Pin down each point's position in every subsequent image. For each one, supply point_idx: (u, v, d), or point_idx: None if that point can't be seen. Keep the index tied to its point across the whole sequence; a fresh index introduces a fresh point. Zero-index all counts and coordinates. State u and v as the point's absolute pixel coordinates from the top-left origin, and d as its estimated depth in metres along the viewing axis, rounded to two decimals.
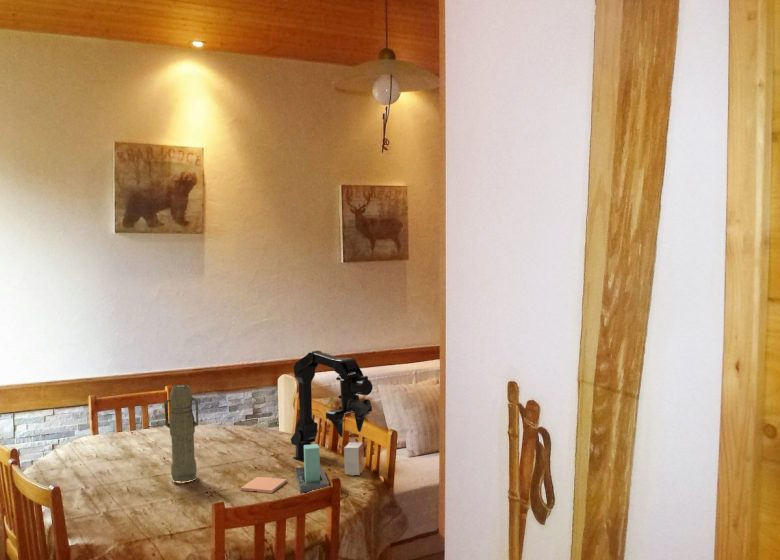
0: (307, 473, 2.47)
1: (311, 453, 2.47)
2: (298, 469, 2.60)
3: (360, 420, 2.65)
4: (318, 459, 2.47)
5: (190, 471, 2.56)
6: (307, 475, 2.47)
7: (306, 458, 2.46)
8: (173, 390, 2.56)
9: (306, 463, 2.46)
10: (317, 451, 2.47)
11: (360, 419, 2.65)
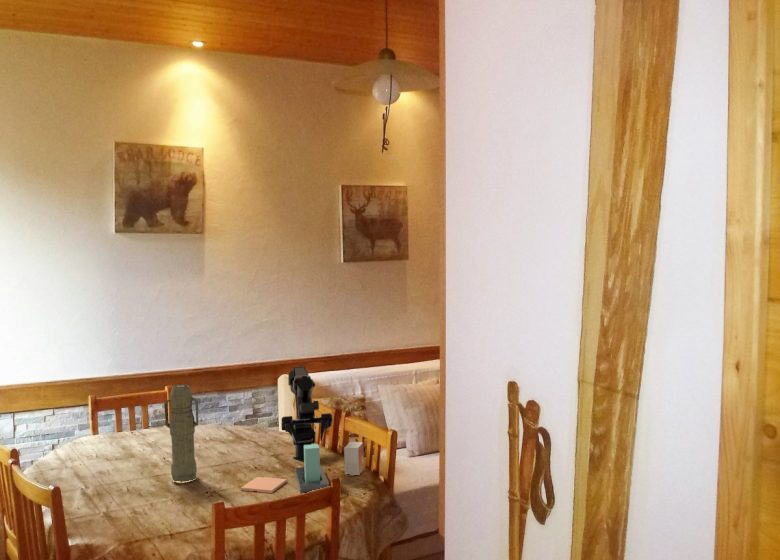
0: (307, 473, 2.47)
1: (311, 453, 2.47)
2: (298, 469, 2.60)
3: (320, 429, 2.61)
4: (318, 459, 2.47)
5: (190, 471, 2.56)
6: (307, 475, 2.47)
7: (306, 458, 2.46)
8: (173, 390, 2.56)
9: (306, 463, 2.46)
10: (317, 451, 2.47)
11: (320, 428, 2.61)
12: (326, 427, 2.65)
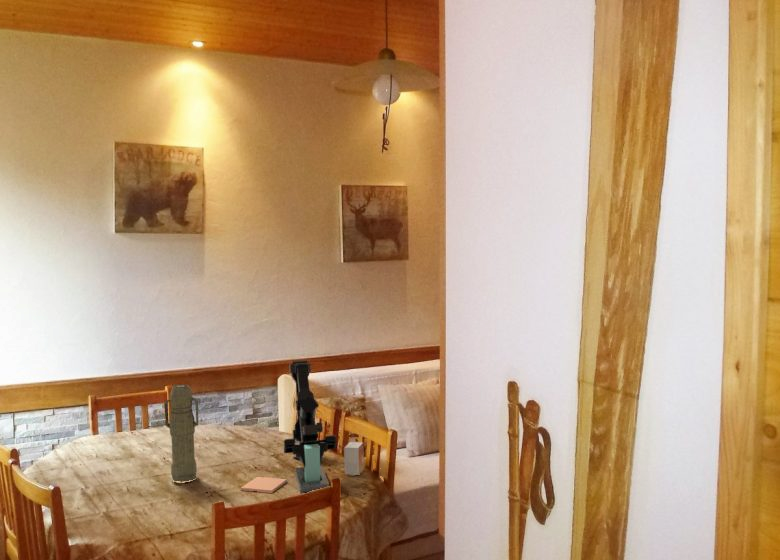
0: (307, 473, 2.47)
1: (312, 453, 2.47)
2: (298, 469, 2.60)
3: None
4: (318, 459, 2.47)
5: (190, 471, 2.56)
6: (307, 475, 2.47)
7: (306, 458, 2.46)
8: (173, 390, 2.56)
9: (307, 463, 2.46)
10: (317, 451, 2.47)
11: None
12: (325, 450, 2.55)
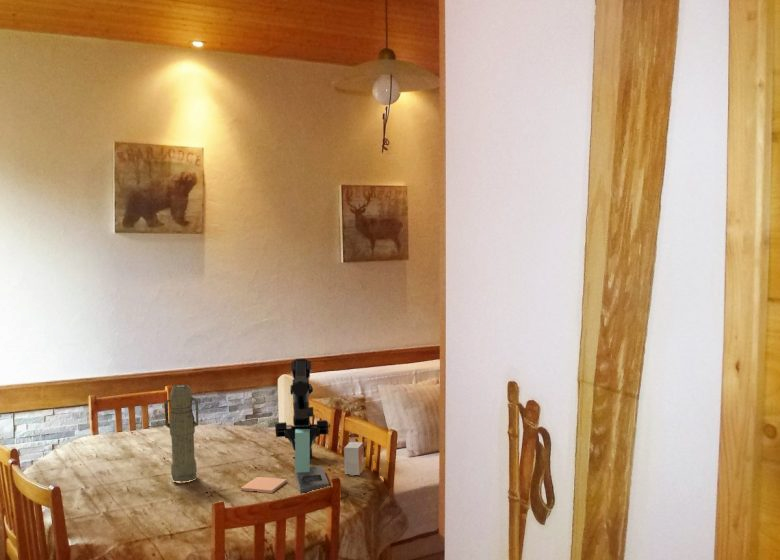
0: (296, 457, 2.46)
1: (301, 437, 2.46)
2: None
3: (310, 437, 2.50)
4: (308, 444, 2.46)
5: (190, 471, 2.56)
6: (296, 459, 2.46)
7: (296, 442, 2.46)
8: (173, 390, 2.56)
9: (296, 447, 2.46)
10: (307, 436, 2.46)
11: (310, 436, 2.50)
12: (317, 435, 2.54)
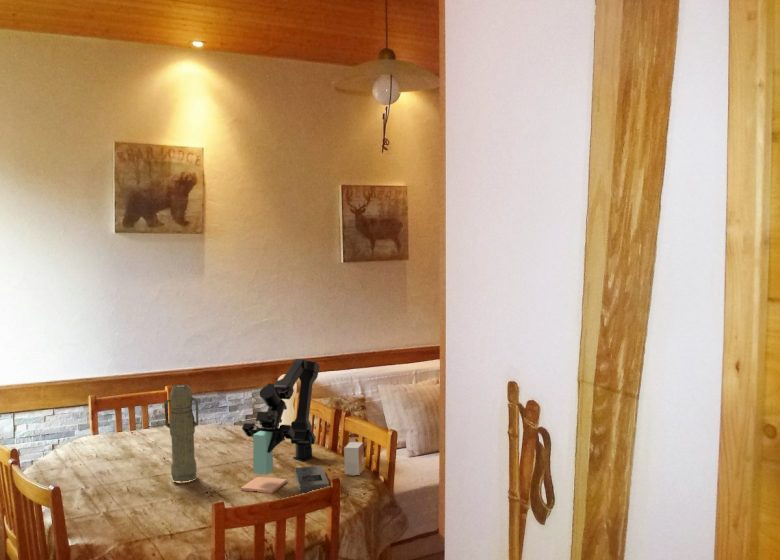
0: (254, 459, 2.48)
1: (259, 440, 2.47)
2: (298, 469, 2.60)
3: None
4: (264, 447, 2.46)
5: (190, 471, 2.56)
6: (254, 461, 2.48)
7: (254, 444, 2.48)
8: (173, 390, 2.56)
9: (254, 449, 2.48)
10: (264, 439, 2.46)
11: None
12: (282, 439, 2.52)
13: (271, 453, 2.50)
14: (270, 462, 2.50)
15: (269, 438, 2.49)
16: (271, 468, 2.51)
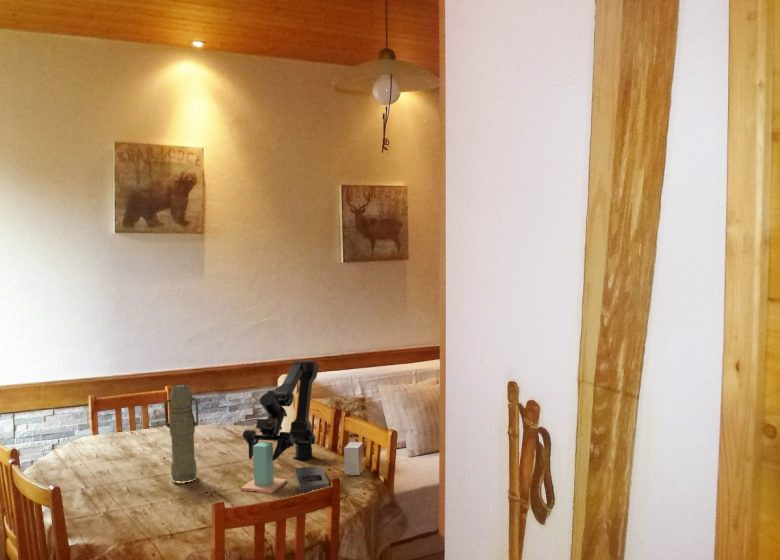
0: (255, 470, 2.48)
1: (259, 451, 2.47)
2: (298, 469, 2.60)
3: None
4: (264, 458, 2.47)
5: (190, 471, 2.56)
6: (255, 472, 2.48)
7: (254, 455, 2.48)
8: (173, 390, 2.56)
9: (254, 460, 2.48)
10: (264, 450, 2.47)
11: None
12: (287, 447, 2.52)
13: (271, 464, 2.50)
14: (270, 473, 2.50)
15: (269, 449, 2.49)
16: (272, 479, 2.51)
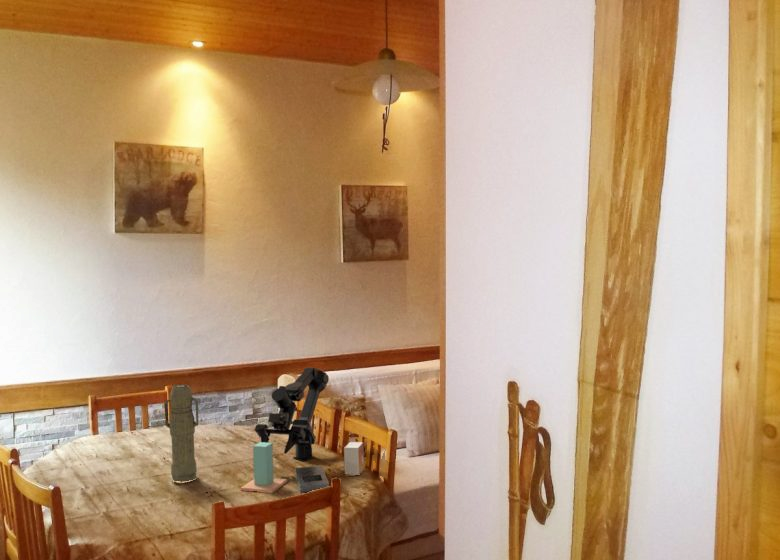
0: (255, 470, 2.48)
1: (259, 451, 2.47)
2: (298, 469, 2.60)
3: None
4: (264, 458, 2.47)
5: (190, 471, 2.56)
6: (255, 472, 2.48)
7: (254, 455, 2.48)
8: (173, 390, 2.56)
9: (254, 460, 2.48)
10: (264, 450, 2.47)
11: None
12: (298, 440, 2.61)
13: (271, 464, 2.50)
14: (270, 473, 2.50)
15: (269, 449, 2.49)
16: (272, 479, 2.51)
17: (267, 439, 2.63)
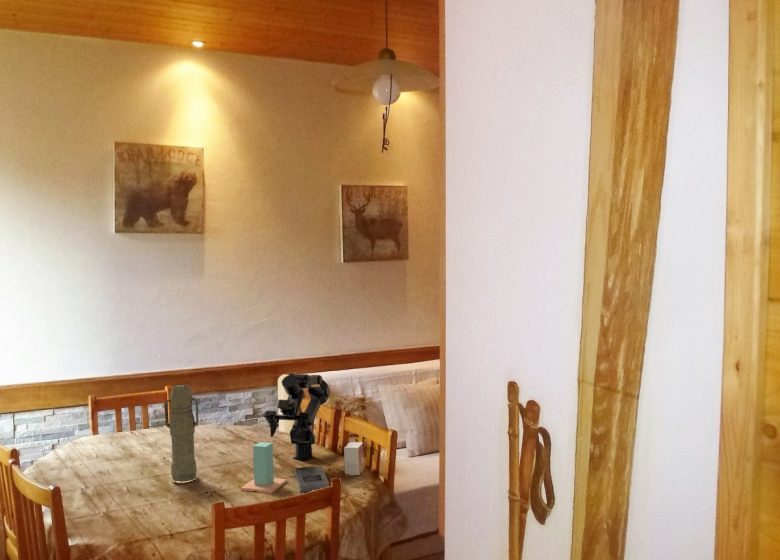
0: (255, 470, 2.48)
1: (259, 451, 2.47)
2: (298, 469, 2.60)
3: None
4: (264, 458, 2.47)
5: (190, 471, 2.56)
6: (255, 472, 2.48)
7: (254, 455, 2.48)
8: (173, 390, 2.56)
9: (254, 460, 2.48)
10: (264, 450, 2.47)
11: None
12: (306, 426, 2.67)
13: (271, 464, 2.50)
14: (270, 473, 2.50)
15: (269, 449, 2.49)
16: (272, 479, 2.51)
17: (276, 425, 2.70)
